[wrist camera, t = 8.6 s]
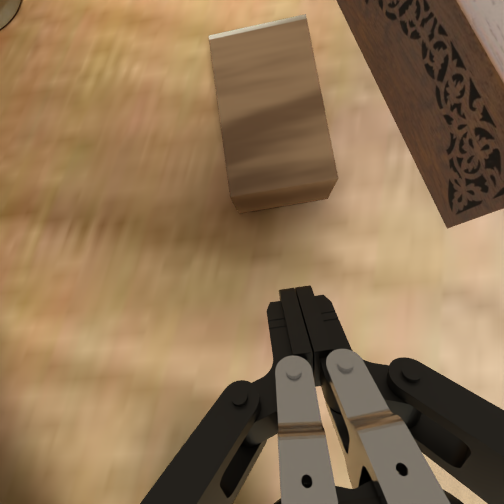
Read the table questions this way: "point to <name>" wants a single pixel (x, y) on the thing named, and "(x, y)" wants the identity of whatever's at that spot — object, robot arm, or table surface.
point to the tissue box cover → (442, 92)
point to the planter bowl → (8, 10)
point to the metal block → (272, 115)
